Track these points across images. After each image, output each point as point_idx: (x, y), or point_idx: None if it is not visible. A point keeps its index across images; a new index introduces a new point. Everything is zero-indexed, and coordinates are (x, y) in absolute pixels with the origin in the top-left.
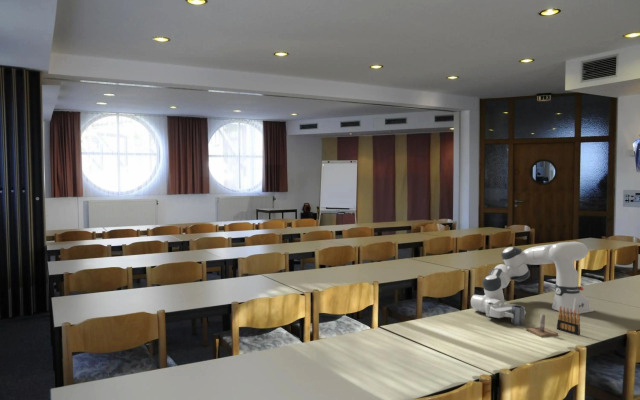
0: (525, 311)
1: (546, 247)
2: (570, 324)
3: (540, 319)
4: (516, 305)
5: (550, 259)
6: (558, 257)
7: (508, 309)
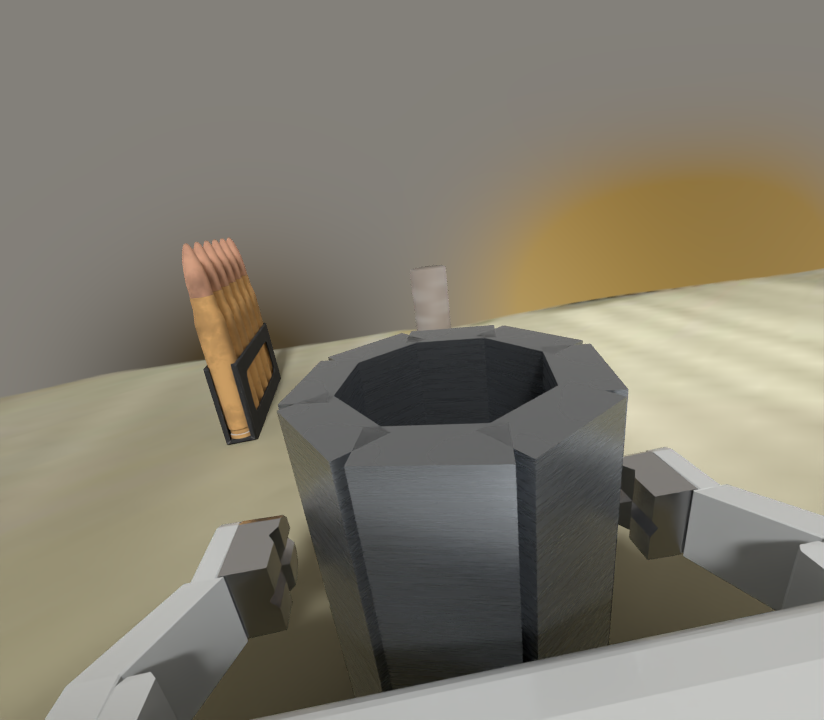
0: (221, 525)
1: None
2: (260, 343)
3: (447, 310)
4: (393, 432)
5: None
6: None
7: (701, 645)
